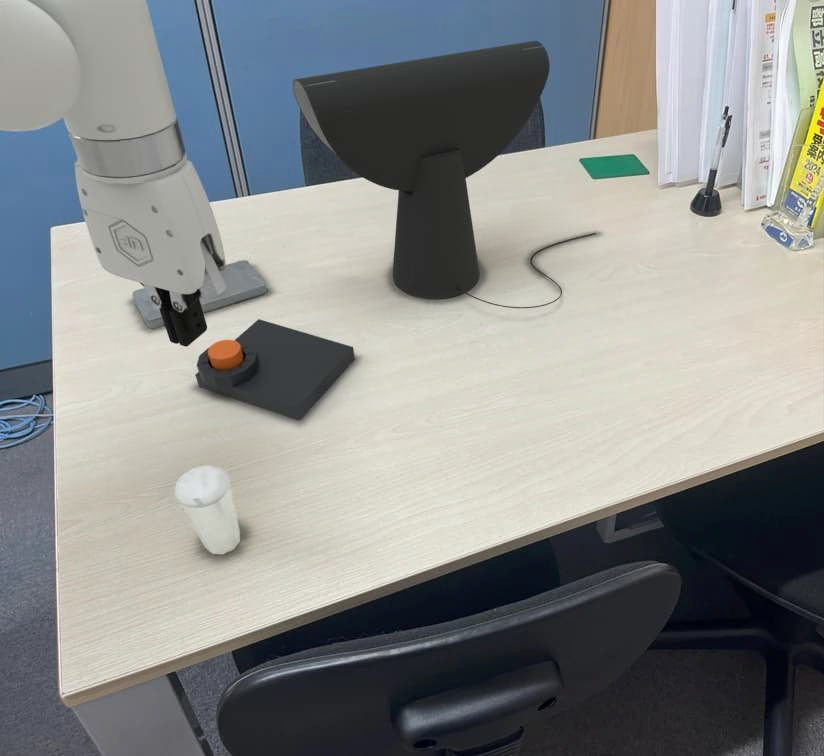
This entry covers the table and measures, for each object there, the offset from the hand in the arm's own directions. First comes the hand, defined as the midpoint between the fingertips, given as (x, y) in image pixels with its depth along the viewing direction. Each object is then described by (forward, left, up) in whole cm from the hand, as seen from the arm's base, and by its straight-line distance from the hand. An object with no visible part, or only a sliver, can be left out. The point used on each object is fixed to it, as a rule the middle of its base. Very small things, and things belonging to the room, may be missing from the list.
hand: (189, 336), depth 66 cm
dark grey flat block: (-3, +13, -16) cm, 21 cm away
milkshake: (+7, -10, -16) cm, 20 cm away
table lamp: (+10, +44, -16) cm, 48 cm away
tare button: (-7, +10, -13) cm, 17 cm away
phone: (-22, +22, -16) cm, 35 cm away
